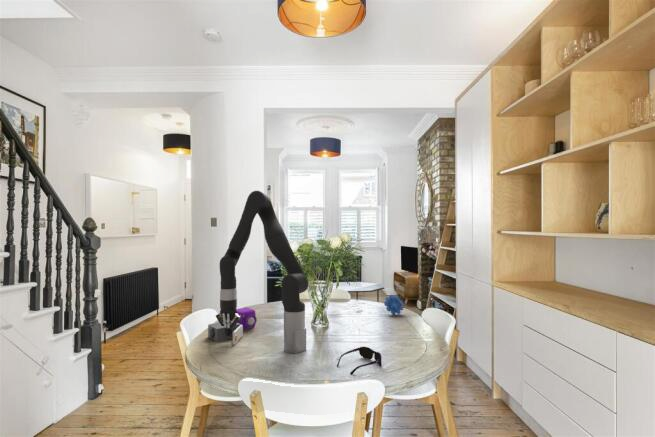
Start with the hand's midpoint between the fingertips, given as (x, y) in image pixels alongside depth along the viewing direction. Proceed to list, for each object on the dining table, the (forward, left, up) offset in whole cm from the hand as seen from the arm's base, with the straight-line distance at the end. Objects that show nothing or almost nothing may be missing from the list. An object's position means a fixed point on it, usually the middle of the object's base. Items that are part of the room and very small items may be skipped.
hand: (228, 335), depth 160 cm
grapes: (-21, -97, -4) cm, 99 cm away
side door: (0, -5, -3) cm, 6 cm away
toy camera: (+16, -18, -4) cm, 24 cm away
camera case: (+10, -3, -3) cm, 11 cm away
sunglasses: (-58, -26, -4) cm, 64 cm away
